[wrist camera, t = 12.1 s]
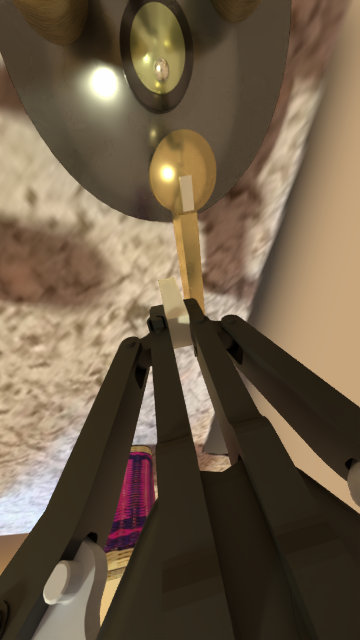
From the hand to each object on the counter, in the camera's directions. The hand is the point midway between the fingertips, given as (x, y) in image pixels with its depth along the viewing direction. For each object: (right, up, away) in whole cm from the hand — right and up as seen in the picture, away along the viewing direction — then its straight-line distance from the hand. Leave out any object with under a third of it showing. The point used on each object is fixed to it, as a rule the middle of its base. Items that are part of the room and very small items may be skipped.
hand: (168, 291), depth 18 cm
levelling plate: (-1, +15, -5) cm, 15 cm away
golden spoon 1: (+1, +5, 0) cm, 5 cm away
